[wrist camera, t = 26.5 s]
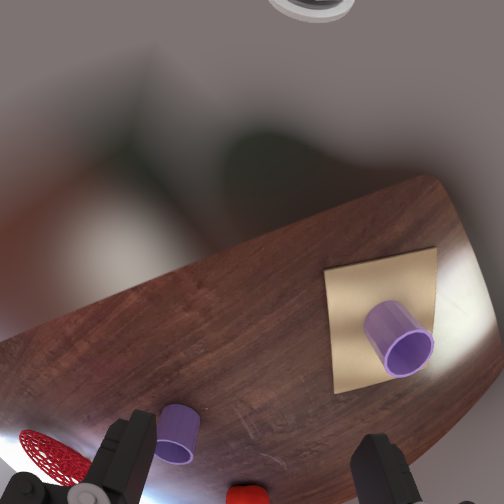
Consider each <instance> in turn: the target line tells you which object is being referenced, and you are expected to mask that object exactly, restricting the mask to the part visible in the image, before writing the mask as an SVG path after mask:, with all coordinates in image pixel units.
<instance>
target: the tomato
mask: <svg viewBox="0 0 504 504" xmlns="http://www.w3.org/2000/svg"><path fill="white" fill-rule="evenodd" d="M226 504H269V496H268V494H267V492H266V491H265V490H264V489H263V488H262V487H260V486H257V485H248V486H235V487H232V488H231V489H229V490H228V492H227V495H226Z"/></svg>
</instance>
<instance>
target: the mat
mask: <svg viewBox="0 0 504 504" xmlns="http://www.w3.org/2000/svg"><path fill="white" fill-rule="evenodd" d="M324 279H325V288H326V297H327V307H328V318H329V329H330V342H331V355H332V371H333V390H334V394H336V393H341V392H345V391H349V390H354V389H358V388H362V387H365V386H369V385H373V384H377V383H380V382H384V381H387V380H391V379H394V378H397V377H393V376H391V375H389V374H388V373H387V372H386V370H385V368H384V367H383V365H382V363H381V361H380V360H379V358H378V356H377V355H376V353H375V351H374V349H373V348H372V346H371V344H370V343H369V341H368V339H367V337H366V336H365V333H364V323H365V320H366V317H367V316H368V314H369V313H370V311H371V310H372V309H373V308H374V307H375V306H377V305H378V304H380V303H382V302H385V301H397V302H400V303H401V304H402V305H403V306H405V307H406V308H407V309H408V310H409V311H410V312H411V313H412V314H413V315H414V316H415V317H416V319H417V320H418V321H419V322H420V323H421V324H422V325H423V326H424V327H425V328H426V329H427V330H428V331H429V332H430V333H431V334H432V333H433V324H434V313H435V300H436V282H437V247H431V248H427V249H422V250H418V251H413V252H408V253H404V254H399V255H394V256H389V257H385V258H380V259H375V260H370V261H365V262H360V263H355V264H350V265H345V266H340V267H334V268H329V269H324ZM428 362H429V360H428V361H427V362H426V364H425V365H424V366H423V367H422V368H421V369H420V370H422V369H425V368H427V367H428ZM418 371H419V370H418Z"/></svg>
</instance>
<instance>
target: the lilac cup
mask: <svg viewBox="0 0 504 504" xmlns="http://www.w3.org/2000/svg"><path fill="white" fill-rule="evenodd" d="M200 423H201V419H200V416H199V415H198V413H197V412H196V411H194V410H193V409H191V408H190V407H188V406H185V405H181V404H170V405H167V406H165V407H164V408H163V410H162V412H161V414H160V417H159V419H158V422H157V425H156V429H157V445H156V450H155V453H154V455H155V456H156V457H157V458H159V459H161V460H163V461H165V462H168V463H172V464H181V465H182V464H187V463H190V462H191V461H192V460H193V456H194V451H195V447H196V442H197V437H198V432H199V428H200Z"/></svg>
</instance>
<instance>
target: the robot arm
mask: <svg viewBox="0 0 504 504" xmlns="http://www.w3.org/2000/svg"><path fill="white" fill-rule="evenodd" d="M288 1H289V2H291V3H293V4H295V5H298V6H300V7H304V8H308V9H315V10H323V9H330V8H333V7H336V6H338V5H339V4H341V3H342V2H343V0H288ZM156 445H157V429H156V417H155V414H152V413H148V412H144V411H140V410H137V409H135V410H134V412H133V413H132V416H131V418H130V420H129V421H126V420H123V419H118V420H117V421H116V422H115V423H113V424H112V425H111V426H110V427H109V429H108V431H107V433H106V435H105V438H104V439H103V441H102V443H101V446H100V447H99V449H98V451H97V453H96V455H95V457H94V460H93V462H92V464H91V466H90V468H89V470H88V472H87V474H86V476H85V478H84V479H83V480H82V481H81V482H80V483H78V484H76V485H73V486H60V485H54V484H49V483H44V482H42V481H41V480H40V479H39V478H38V477H37V476H36V475H34V474H32V473H29V472H18V473H16V474H14V475H13V476H12V478H11V479H10V481H9V483H8V485H7V487H6V489H5V491H4V493H3V495H2V497H1V499H0V504H139V501H140V498H141V495H142V491H143V488H144V485H145V482H146V479H147V475H148V472H149V469H150V466H151V463H152V460H153V456H154V453H155V450H156ZM350 467H351V472H352V476H353V480H354V484H355V488H356V492H357V496H358V500H359V504H430V503H428V502H423V500H422V499H421V497H420V494H419V492H418V489H417V486H416V484H415V481H414V479H413V476H412V474H411V472H410V469H409V467H408V464H406V459H405V457H404V455H403V452H402V451H401V450H400V449H399V448H398V447H397V446H396V445H395V444H390V441H389V439H388V437H387V435H386V434H384V433H380V434H368V435H366V436H365V437H364V438H363V440H362V441H361V443H360V445H359V446H358V448H357V449H356V451H355V452H354V454H353V455H352V458H351V462H350ZM460 504H474V503H473V502H470V501H464V502H461V503H460Z"/></svg>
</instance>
